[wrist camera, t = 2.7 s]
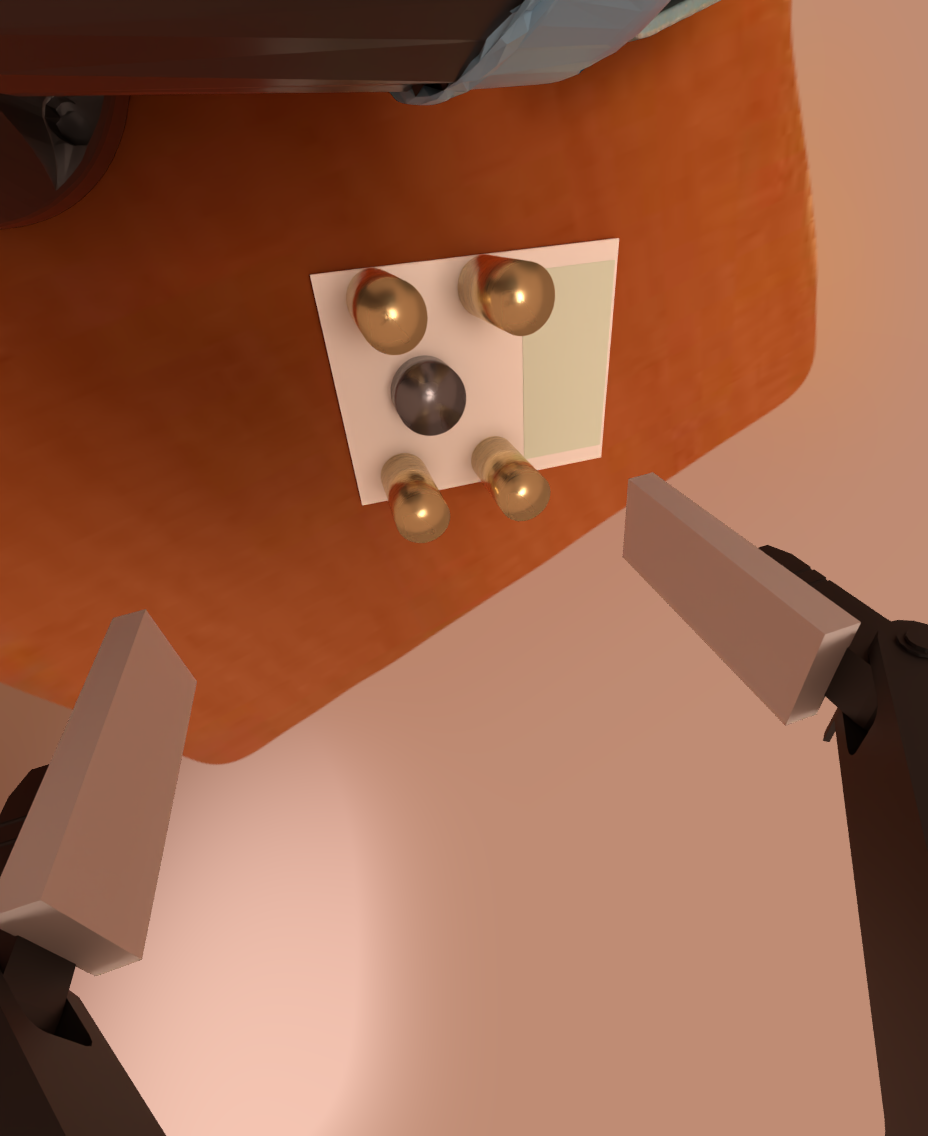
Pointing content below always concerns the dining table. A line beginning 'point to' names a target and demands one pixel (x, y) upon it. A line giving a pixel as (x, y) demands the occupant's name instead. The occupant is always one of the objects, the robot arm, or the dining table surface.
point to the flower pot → (673, 15)
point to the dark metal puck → (428, 395)
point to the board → (481, 368)
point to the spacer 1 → (387, 311)
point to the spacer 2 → (414, 498)
